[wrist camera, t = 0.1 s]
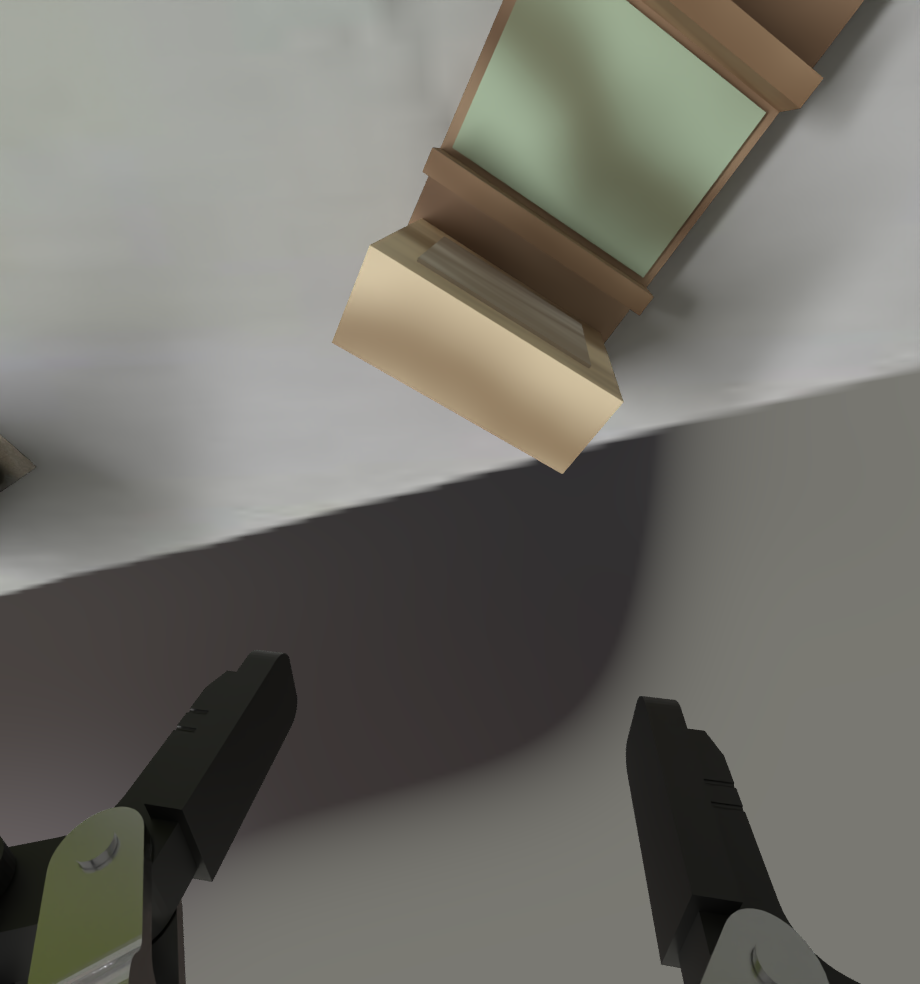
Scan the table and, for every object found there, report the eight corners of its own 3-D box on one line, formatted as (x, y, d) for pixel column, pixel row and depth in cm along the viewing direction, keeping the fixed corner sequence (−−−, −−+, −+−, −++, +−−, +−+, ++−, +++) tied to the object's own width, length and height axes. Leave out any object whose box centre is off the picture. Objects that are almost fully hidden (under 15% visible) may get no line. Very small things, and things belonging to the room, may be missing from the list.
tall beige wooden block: (423, 215, 24) (371, 240, 17) (602, 331, 26) (626, 399, 19) (388, 293, 26) (330, 345, 19) (555, 394, 28) (560, 476, 21)
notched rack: (739, -534, 14) (791, -715, 11) (1019, -226, 16) (1124, -310, 13) (369, 326, 29) (350, 344, 26) (535, 423, 31) (535, 450, 28)
